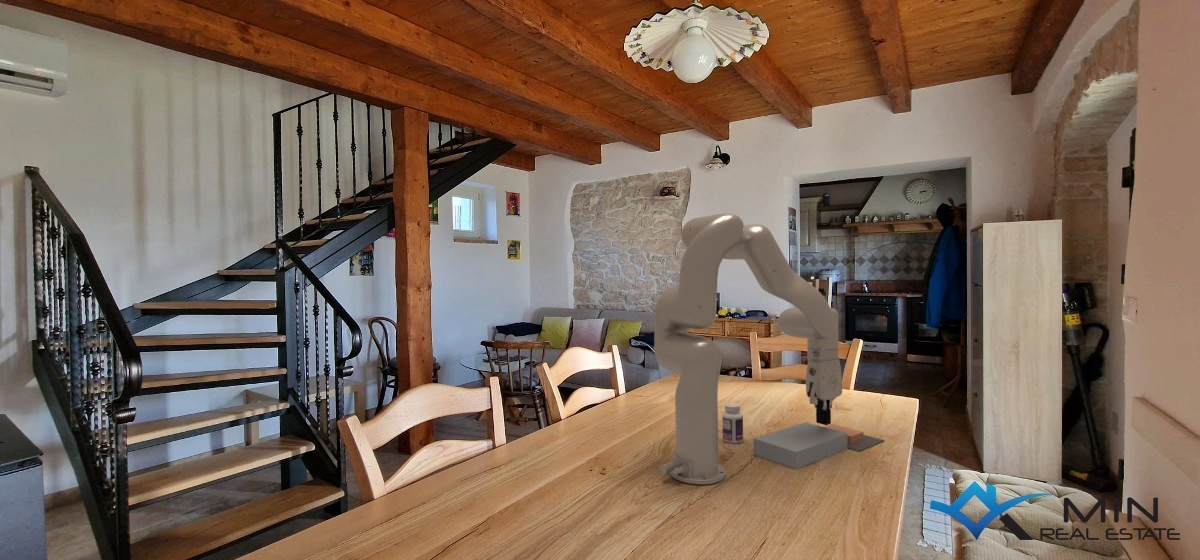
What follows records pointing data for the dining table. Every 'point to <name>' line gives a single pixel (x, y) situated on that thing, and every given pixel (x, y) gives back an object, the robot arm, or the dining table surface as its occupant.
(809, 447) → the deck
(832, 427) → the tile
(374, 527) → the dining table surface
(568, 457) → the dining table surface
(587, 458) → the dining table surface
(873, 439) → the mat
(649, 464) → the dining table surface
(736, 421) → the pill bottle
